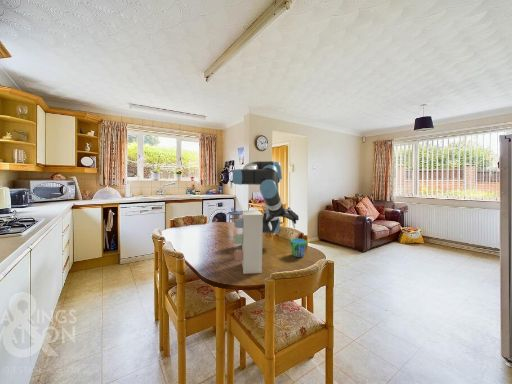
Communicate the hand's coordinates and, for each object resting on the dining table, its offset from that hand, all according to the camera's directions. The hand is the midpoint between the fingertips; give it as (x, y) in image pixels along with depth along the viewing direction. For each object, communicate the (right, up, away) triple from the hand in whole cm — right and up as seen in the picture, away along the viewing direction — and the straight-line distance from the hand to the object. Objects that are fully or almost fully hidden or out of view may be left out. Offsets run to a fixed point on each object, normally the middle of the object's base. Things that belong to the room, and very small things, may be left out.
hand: (282, 227), depth 126 cm
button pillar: (-18, -24, +2) cm, 30 cm away
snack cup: (+13, -23, +23) cm, 35 cm away
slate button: (-25, 0, -1) cm, 25 cm away
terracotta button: (-25, -18, +1) cm, 31 cm away
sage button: (-25, -9, 0) cm, 26 cm away
